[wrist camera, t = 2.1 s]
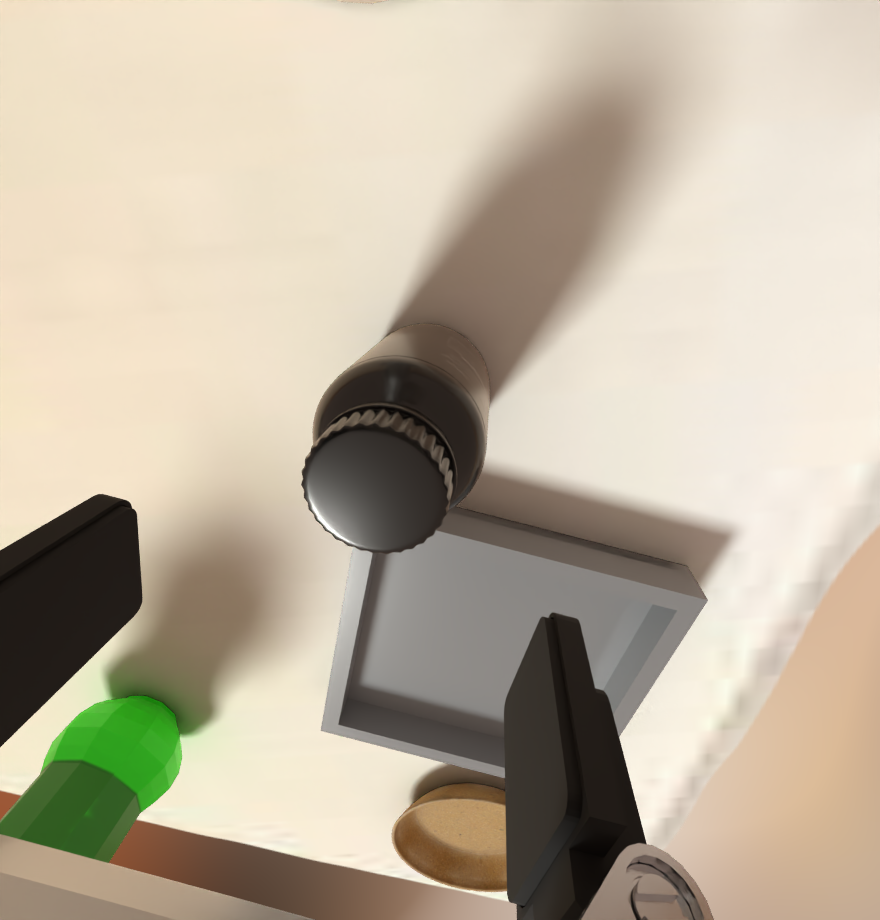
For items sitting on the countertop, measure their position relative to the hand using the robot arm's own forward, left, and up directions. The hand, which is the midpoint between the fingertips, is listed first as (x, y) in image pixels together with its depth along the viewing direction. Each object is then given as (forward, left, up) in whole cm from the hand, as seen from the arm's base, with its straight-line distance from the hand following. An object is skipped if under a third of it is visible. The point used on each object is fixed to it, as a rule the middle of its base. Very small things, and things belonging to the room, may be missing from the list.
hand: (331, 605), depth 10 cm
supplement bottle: (-1, 0, -17) cm, 17 cm away
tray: (+16, +8, -16) cm, 25 cm away
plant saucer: (+38, +13, -17) cm, 44 cm away
